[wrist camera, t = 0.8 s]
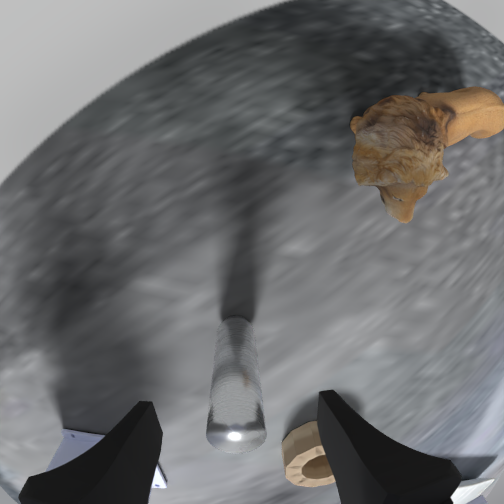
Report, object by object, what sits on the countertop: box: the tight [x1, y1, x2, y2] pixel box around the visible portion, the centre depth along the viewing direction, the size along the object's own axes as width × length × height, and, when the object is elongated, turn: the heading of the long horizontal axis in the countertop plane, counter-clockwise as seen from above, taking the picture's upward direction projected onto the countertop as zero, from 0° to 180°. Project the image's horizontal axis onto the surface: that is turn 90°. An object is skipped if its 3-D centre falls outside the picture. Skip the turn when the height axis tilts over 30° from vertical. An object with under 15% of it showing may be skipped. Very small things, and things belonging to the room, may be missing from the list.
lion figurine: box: [350, 87, 504, 223], centre depth 14 cm, size 15×5×9 cm, turn 122°
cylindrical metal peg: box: [206, 315, 266, 453], centre depth 16 cm, size 2×2×10 cm
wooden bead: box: [282, 421, 335, 487], centre depth 22 cm, size 6×6×3 cm
